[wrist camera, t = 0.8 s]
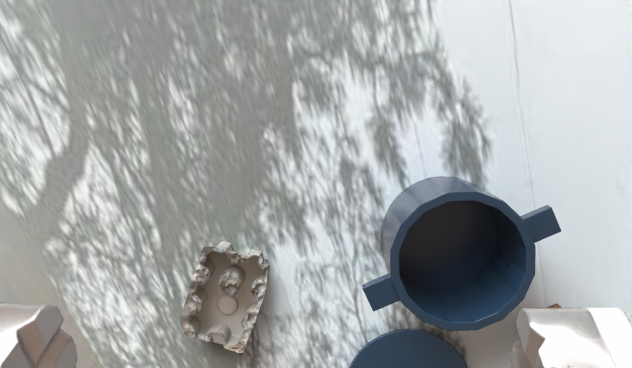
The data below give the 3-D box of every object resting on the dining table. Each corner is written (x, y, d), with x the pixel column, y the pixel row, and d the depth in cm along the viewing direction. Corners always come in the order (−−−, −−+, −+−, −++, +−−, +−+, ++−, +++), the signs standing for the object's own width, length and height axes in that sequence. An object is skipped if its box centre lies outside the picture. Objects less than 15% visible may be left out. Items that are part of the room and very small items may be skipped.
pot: (544, 254, 57) (586, 285, 47) (387, 321, 59) (397, 363, 49) (499, 145, 55) (532, 154, 46) (338, 217, 57) (338, 240, 48)
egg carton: (249, 343, 60) (242, 361, 56) (183, 322, 59) (172, 338, 55) (278, 254, 58) (273, 266, 54) (211, 232, 58) (201, 243, 54)
